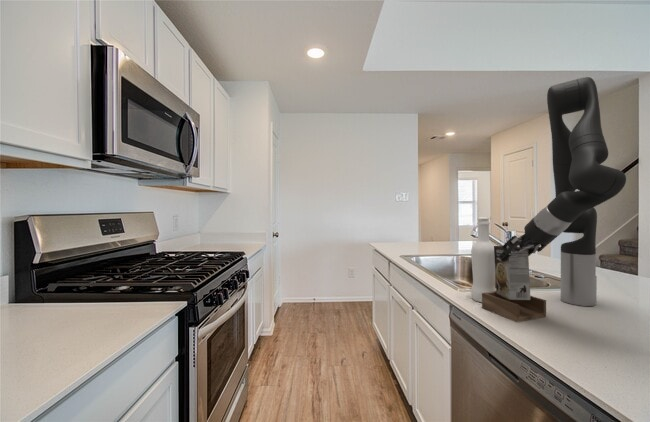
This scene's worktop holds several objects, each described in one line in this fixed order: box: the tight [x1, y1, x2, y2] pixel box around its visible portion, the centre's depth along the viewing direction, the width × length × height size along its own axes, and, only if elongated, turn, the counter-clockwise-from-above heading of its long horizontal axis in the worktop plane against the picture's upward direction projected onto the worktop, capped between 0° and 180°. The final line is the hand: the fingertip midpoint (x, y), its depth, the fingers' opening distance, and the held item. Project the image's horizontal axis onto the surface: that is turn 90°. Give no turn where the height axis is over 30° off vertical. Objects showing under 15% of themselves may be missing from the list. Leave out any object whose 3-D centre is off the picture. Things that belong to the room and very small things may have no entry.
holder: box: [481, 291, 547, 323], centre depth 94 cm, size 12×12×5 cm
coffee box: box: [494, 245, 531, 300], centre depth 94 cm, size 9×6×16 cm
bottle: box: [470, 216, 496, 304], centre depth 106 cm, size 8×8×30 cm
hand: (511, 258), depth 94 cm, fingers closed on coffee box, 8 cm apart
